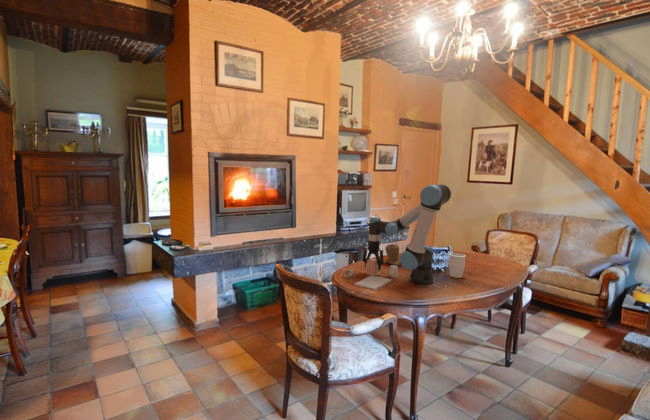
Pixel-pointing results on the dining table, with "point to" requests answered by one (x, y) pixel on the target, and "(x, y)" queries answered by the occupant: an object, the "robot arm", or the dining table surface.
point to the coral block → (372, 267)
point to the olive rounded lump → (349, 273)
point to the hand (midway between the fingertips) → (372, 273)
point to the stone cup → (393, 254)
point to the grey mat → (373, 282)
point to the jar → (456, 264)
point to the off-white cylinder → (393, 271)
